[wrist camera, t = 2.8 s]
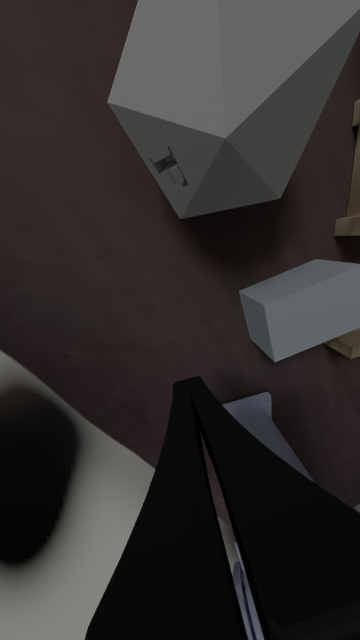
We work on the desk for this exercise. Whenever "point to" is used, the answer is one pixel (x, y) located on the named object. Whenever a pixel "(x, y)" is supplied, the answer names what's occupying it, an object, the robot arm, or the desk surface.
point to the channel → (353, 224)
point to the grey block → (303, 307)
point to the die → (228, 92)
